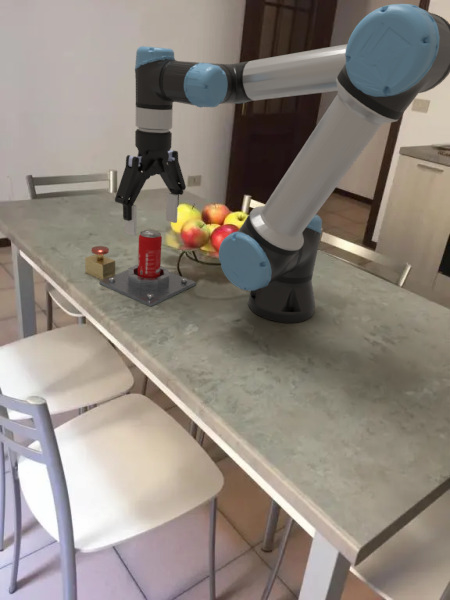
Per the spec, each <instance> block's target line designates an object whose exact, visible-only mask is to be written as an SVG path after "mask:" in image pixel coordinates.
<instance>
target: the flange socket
mask: <svg viewBox="0 0 450 600" xmlns="http://www.w3.org/2000/svg"><path fill="white" fill-rule="evenodd" d="M99 285H101V286H103V287H105V288H108V289H110V290H113V291H114V292H117V293H119V294H121V295H124V296H126V297H128V298H130V299H133V300H135V301H137V302H139V303H142V304H144V305H146V306H148V307H150V308H151V307H153V306H155V305H158V304H160V303H161V302H164V301H165V300H168V299H170V298H171V297H174V296H176V295H178V294H180V293H183V292H184V291H186V290H188V289H191V288H193V287H195V286H196V281H194V280H192V279H188V278H187V277H183V276H181V275H179V274H176V273H174V272H172V271H169V269H168V268H167V267H163V266H161V265H160V277H158V278H142V277H139V276H138V264H136V265H133V266H130V267H129V268H128V269H127V270H124V271H121V272H119V273H117V274H116V273H115V275H113V276H111V277H108V278H106V279H103V280H101V279H99Z"/></svg>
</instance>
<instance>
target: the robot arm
mask: <svg viewBox="0 0 450 600" xmlns="http://www.w3.org/2000/svg"><path fill="white" fill-rule="evenodd" d="M135 56H136V57H135V66H134V67H135V68H134V73H135V75H134V77H135V127H137V128H136V130H135V131H134V132H135V135H134V138H135V141H134V143H135V144H134V145H135V146H134V147H136V148H137V151H138V153H137V155H136V156H133V155H129V154H128V155H127V156H126V157H125V167H124V171H123V173H122V176H121V179H120V183H119V185H118V188H117V191H116V194H115V198H114V202H115V203H118V204H121V205H122V218H123V220H124V233H125V234H126V235H127V234H128V235H130V236H132V237H135V236H137V208H138V207H137V205H136V204H135V202H136V200H137V198H138V197H139V195H140V192H141V191H142V189H143V188H144V186H145V183H146V182H147V180H149V179H150V178H151V177H154V176H156V175H159V176H160V177H161V180H162V181H163V183H164V184H165V186H166V188H167V189H168V191H169V192H167V193H166V207H165V209H166V211H165V214H166V216H165V221H167V222H170V223H173V224H177V223H178V208H179V203H180V201H179V200H180V199H179V198H180V196H182V195H184V191H185V190H186V188H187V186H186V183H185V182H186V181H185V178H184V176H183V172H182V168H181V165H180V162H179V151H178V150H174V149H171V148H172V139H173V137H172V135H173V134H172V132H171V131H170V130H171V129H173V112H174V111H173V106H174V105H173V104H174V103H179V104H184V105H185V104H186V105H191V106H196V107H198V108H216V107H218V106H219V105H221V104H223V105H224V104H236V105H237V104H246V103H247V102H248V103H249V102H252V101H262V100H270V99H279V98H286V97H287V98H288V97H294V96H304V95H312V94H322V93H330V92H337V94H336V95H335V97H334V99H333V100H332V102H331V104H330V105H329V106H328V107H327V110H325V113H323V116H322V117H321V119H320V120H319V122H318V123H317V125H316V127H314V130H312V132H311V134H310V135H309V137H308V139H307V140H306V141H305V143H304V145H302V148H301V149H300V151H299V152H298V154H297V155H296V157H295V158H294V160H293V162H292V163H291V165H290V166H289V167H288V169H287V171H286V172H285V174H284V175H283V177H282V178H281V180H280V181H279V183H278V184H277V186H276V187H275V189H274V191H273V192H272V193H271V195H270V196H269V198H268V200H267V201H266V203H265V204H264V205H263V206H262V205H261V206H256V207H254V208H253V209H251V211H250V213H249V214H248V215H247V216H246V219H245V220H244V222H243V223H242V224H241V227H240V228H239V229H238V230H237V231H233V232H231V233H230V234H228V235H227V236H226V237H224V238H223V240H221V243H220V245H219V249H218V261H219V263H220V269H221V270H222V272H223V274H224V276H225V277H226V278H227V280H228V281H229V283H231V284H232V285H233V286H235V287H237V288H239V289H240V290H243V291H250V292H249V294H248V295H249V296H248V302H247V303H248V307H249V309H250V310H251V311H252V312H253V313H255V314H256V315H257V316H259V317H262V318H264V319H267V320H269V321H273V322H279V323H285V324H287V323H289V324H293V323H294V324H295V323H302V322H305V321H308V320H309V319H311V318H312V317H313V315H314V312H315V306H316V299H315V296H314V289H313V287H314V286H313V275H314V270H315V265H316V260H317V255H318V250H319V249H318V248H319V244H320V239H321V235H322V233H323V231H322V228H323V227H322V226H323V220H322V217H320V216H319V215H318V214H317V213H318V212H319V211H320V210H321V208H322V207H323V206H324V204H325V202H326V201H327V200H328V199H329V197H330V196H331V194H332V193H333V192H334V191H335V189H336V187H338V185H339V184H340V182H341V181H342V180H343V178H344V177H345V175H346V174H348V173H347V172H349V170H350V169H351V168H352V167H353V165H354V163H355V162H356V161H357V160H358V158H359V157H360V155H361V154H362V153H363V151H364V150H365V149H366V147H367V146H368V145H369V144H370V142H371V141H372V139H373V138H374V137H375V135H376V134H377V132H378V131H379V130H380V129H381V127H382V125H385V124H389V123H394V122H395V123H396V122H398V121H399V120H400V118H401V116H402V115H403V114H404V113H405V111H406V110H407V109H408V108H409V106H410V105H411V104H412V103H413V101H414V100H415V99H416V97H417V96H418V95H419V94H421V93H422V94H423V93H426V92H428V91H431V90H433V89H435V88H436V87H438V85H440V84H441V83H442V82H444V81H445V80H446V78H447V77H448V76H449V74H450V23H449V21H448V20H447V19H445V18H444V17H443V16H440V15H438V14H436V13H433V12H430V11H428V10H425V9H423V8H421V7H419V6H418V5H415V4H411V3H393V4H388V5H384V6H381V7H378V8H376V9H374V10H373V11H371V12H370V13H368V14H367V15H366V16H364V17H363V18H362V19H361V20H360V21H359V23H358V24H356V26H355V27H354V28H353V31H352V33H351V34H350V36H349V39H348V41H347V43H346V44H340V45H335V46H329V47H321V48H317V49H311V50H306V51H301V52H294V53H289V54H283V55H278V56H276V55H275V56H272V57H266V58H259V59H254V60H250V61H242V62H237V63H212V62H211V63H210V62H196V61H183V60H177V59H175V58H176V57H175V52H174V49H172V48H166V47H158V46H157V47H156V46H144V45H143V46H142V45H141V46H139V47H138V48H137V50H136V53H135Z"/></svg>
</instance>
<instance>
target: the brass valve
mask: <svg viewBox="0 0 450 600" xmlns="http://www.w3.org/2000/svg"><path fill="white" fill-rule="evenodd" d="M109 250H110V249H109V248H108V247H107V246H102V245H97V246H92V247H91V250H90V251H91V253H92V254H93V255H90V256H87V257H85V258H84V260H85V261H84V264H85V269H84V270H85V274H88V275H90V276H91V277H94V278H97V279H99V280H103V279H106V278H108V277H111V276H113V275H116V260H114V259H112V258H109V257H107V256H105V255H108V253H109V252H110V251H109Z"/></svg>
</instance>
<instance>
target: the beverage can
mask: <svg viewBox="0 0 450 600" xmlns="http://www.w3.org/2000/svg"><path fill="white" fill-rule="evenodd" d="M162 238H163V237H162V234H161V232H159V231H157V230H154V229H153V230H152V229H145V230H142V231H140V233H139V235H138V251H137V252H138V254H137V255H138V256H137V261H138V262H137V265H138V276H139V277H142V278H158V277H160V266H161V263H162V261H161V260H162V259H161V258H162V244H163V243H162V242H163V241H162V240H163V239H162Z"/></svg>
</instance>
